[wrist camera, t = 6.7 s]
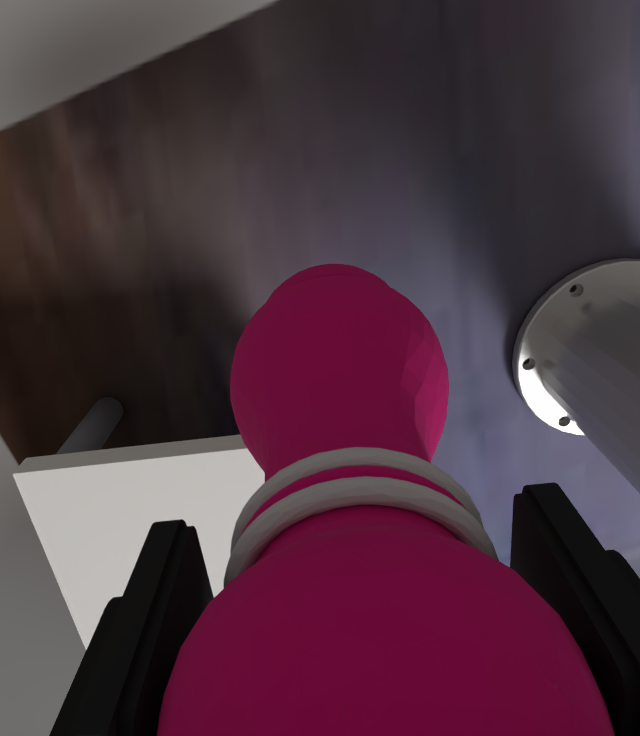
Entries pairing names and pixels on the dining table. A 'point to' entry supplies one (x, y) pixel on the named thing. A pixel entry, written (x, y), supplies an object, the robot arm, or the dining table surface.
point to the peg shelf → (130, 505)
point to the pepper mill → (365, 550)
